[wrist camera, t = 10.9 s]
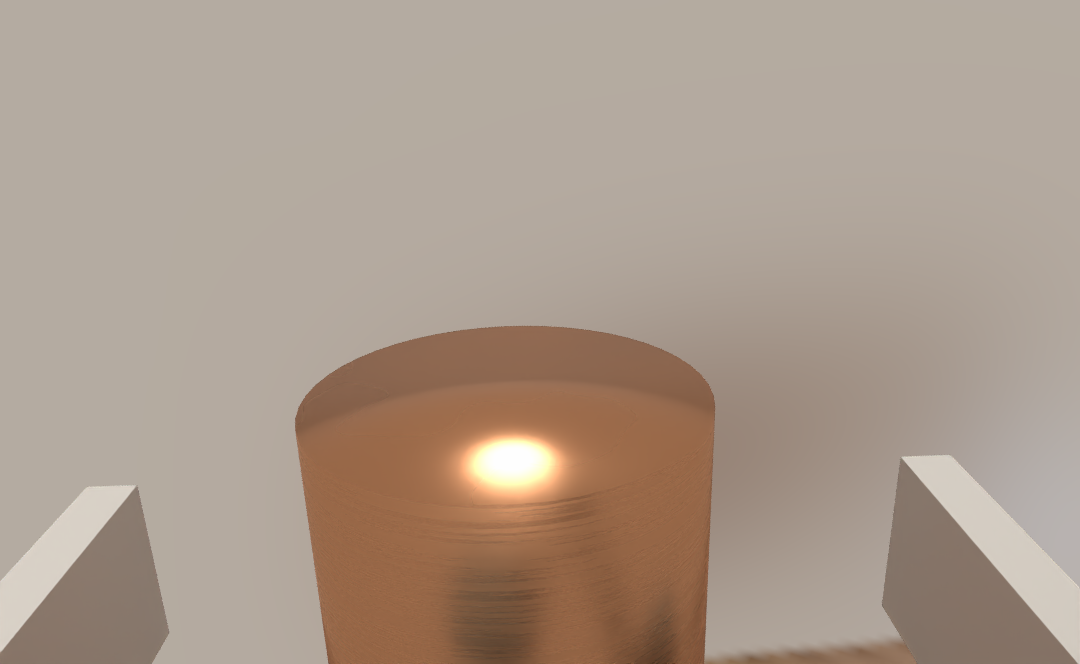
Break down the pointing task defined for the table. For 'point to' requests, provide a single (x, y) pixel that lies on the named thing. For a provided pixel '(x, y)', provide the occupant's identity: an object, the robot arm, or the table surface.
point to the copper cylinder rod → (511, 500)
